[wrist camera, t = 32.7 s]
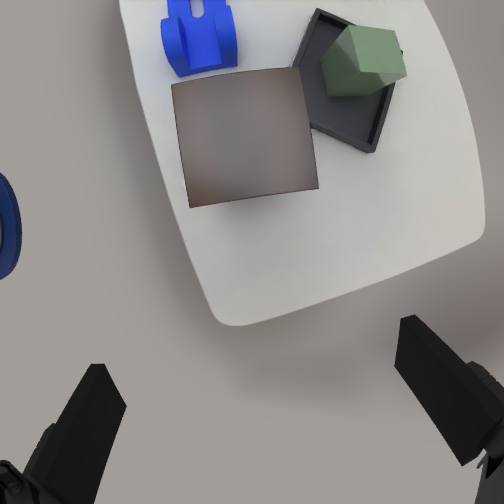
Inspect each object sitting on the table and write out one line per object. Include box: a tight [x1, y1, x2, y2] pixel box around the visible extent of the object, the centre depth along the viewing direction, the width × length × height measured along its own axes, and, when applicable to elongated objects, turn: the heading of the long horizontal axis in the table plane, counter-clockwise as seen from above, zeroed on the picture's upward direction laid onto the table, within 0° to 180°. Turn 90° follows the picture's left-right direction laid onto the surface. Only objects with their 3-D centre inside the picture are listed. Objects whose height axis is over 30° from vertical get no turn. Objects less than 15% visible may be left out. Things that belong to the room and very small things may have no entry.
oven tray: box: [292, 8, 403, 153], centre depth 33 cm, size 15×19×3 cm
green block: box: [320, 25, 407, 97], centre depth 28 cm, size 6×6×12 cm
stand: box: [171, 67, 319, 208], centre depth 28 cm, size 9×9×20 cm
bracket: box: [161, 0, 237, 77], centre depth 27 cm, size 18×8×9 cm, turn 10°
